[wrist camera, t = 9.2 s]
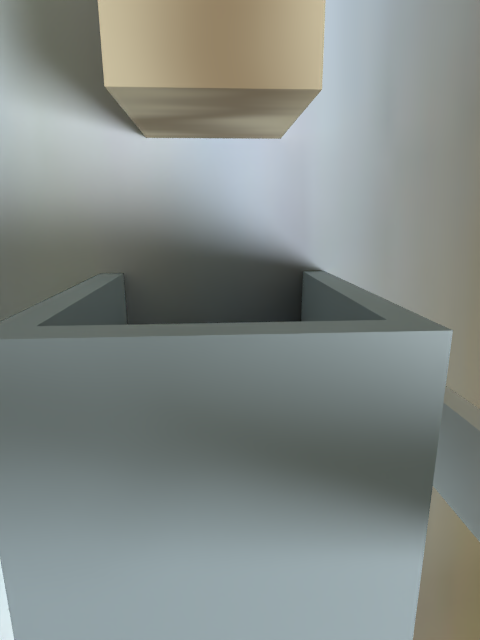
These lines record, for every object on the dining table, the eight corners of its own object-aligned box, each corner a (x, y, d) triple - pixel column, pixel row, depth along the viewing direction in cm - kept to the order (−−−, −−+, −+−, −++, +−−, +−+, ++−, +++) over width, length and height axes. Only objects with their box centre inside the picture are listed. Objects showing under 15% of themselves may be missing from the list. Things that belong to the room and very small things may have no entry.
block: (146, 137, 15) (104, 86, 9) (137, -21, 14) (82, -197, 8) (280, 138, 15) (321, 89, 9) (282, -17, 14) (332, -183, 8)
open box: (117, 473, 18) (27, 714, 9) (100, 273, 16) (-39, 340, 7) (315, 465, 19) (406, 685, 10) (324, 271, 17) (452, 330, 8)
